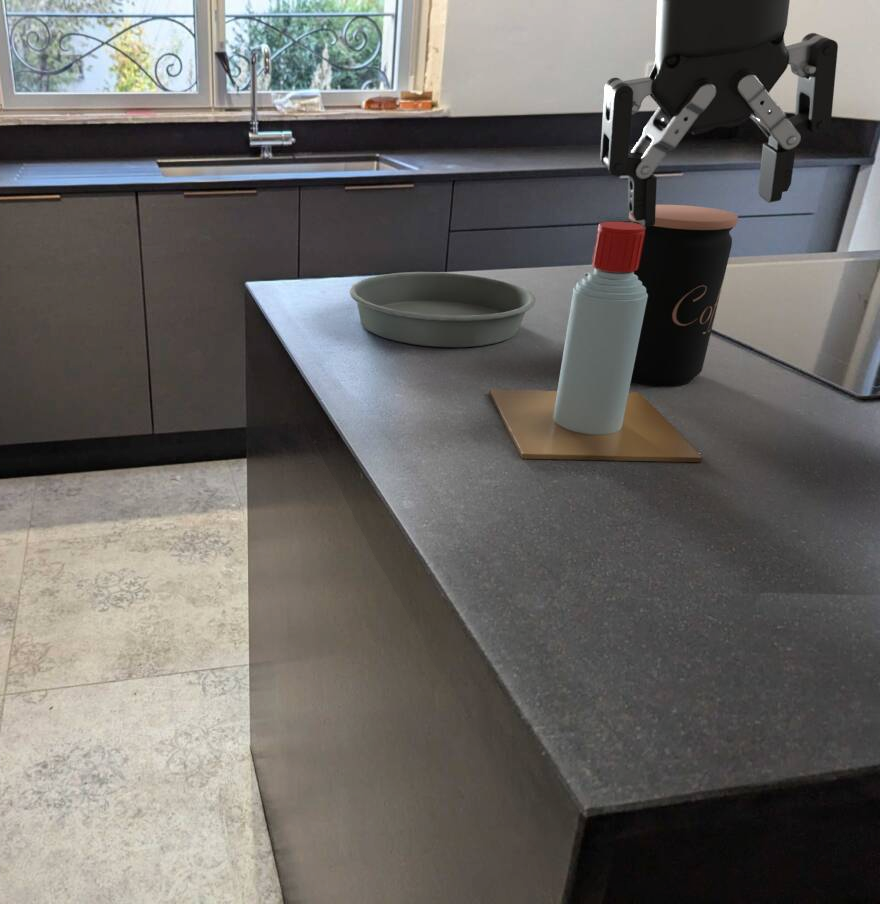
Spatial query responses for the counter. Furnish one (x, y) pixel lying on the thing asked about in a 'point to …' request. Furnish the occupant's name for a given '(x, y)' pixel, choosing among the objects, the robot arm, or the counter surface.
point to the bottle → (600, 352)
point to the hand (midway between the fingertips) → (706, 210)
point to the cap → (618, 246)
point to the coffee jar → (680, 290)
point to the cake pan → (441, 308)
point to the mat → (545, 439)
